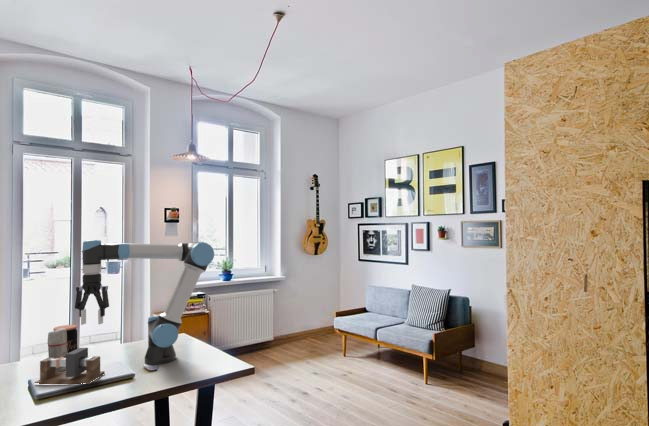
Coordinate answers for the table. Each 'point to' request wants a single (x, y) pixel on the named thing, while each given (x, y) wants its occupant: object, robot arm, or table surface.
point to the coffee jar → (70, 336)
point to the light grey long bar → (62, 362)
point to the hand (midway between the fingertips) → (92, 323)
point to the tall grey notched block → (75, 362)
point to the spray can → (58, 345)
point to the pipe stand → (53, 377)
